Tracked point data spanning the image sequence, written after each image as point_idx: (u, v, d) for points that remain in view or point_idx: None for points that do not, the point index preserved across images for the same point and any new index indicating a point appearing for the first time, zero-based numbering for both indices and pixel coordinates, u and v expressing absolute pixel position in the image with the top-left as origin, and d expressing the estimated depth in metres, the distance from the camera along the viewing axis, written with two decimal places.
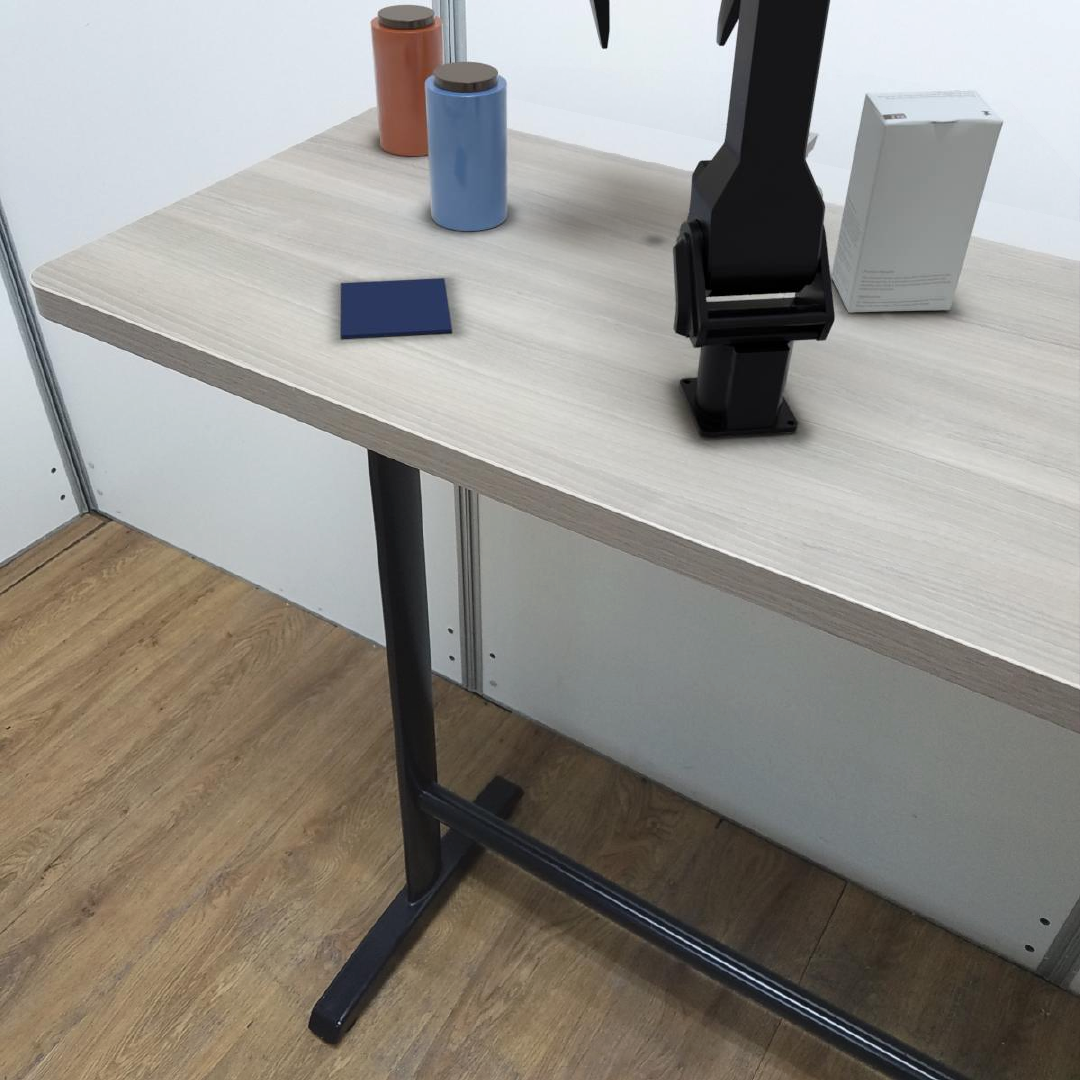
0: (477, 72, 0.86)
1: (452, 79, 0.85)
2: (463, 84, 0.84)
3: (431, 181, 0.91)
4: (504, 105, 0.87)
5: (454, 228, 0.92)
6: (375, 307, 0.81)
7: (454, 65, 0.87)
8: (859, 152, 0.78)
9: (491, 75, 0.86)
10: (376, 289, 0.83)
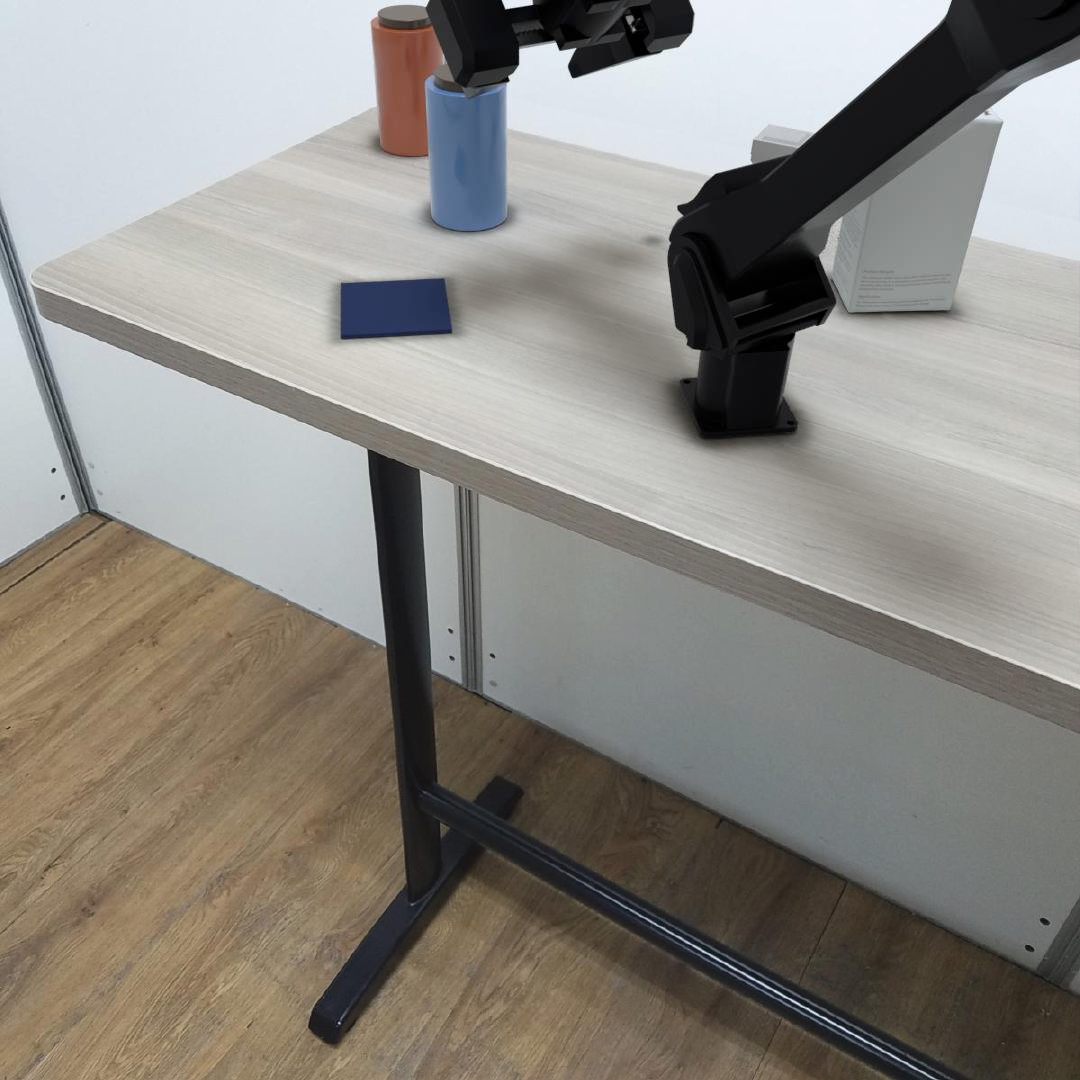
0: None
1: (452, 79, 0.85)
2: None
3: (431, 181, 0.91)
4: (504, 105, 0.87)
5: (454, 228, 0.92)
6: (375, 307, 0.81)
7: None
8: None
9: None
10: (376, 289, 0.83)
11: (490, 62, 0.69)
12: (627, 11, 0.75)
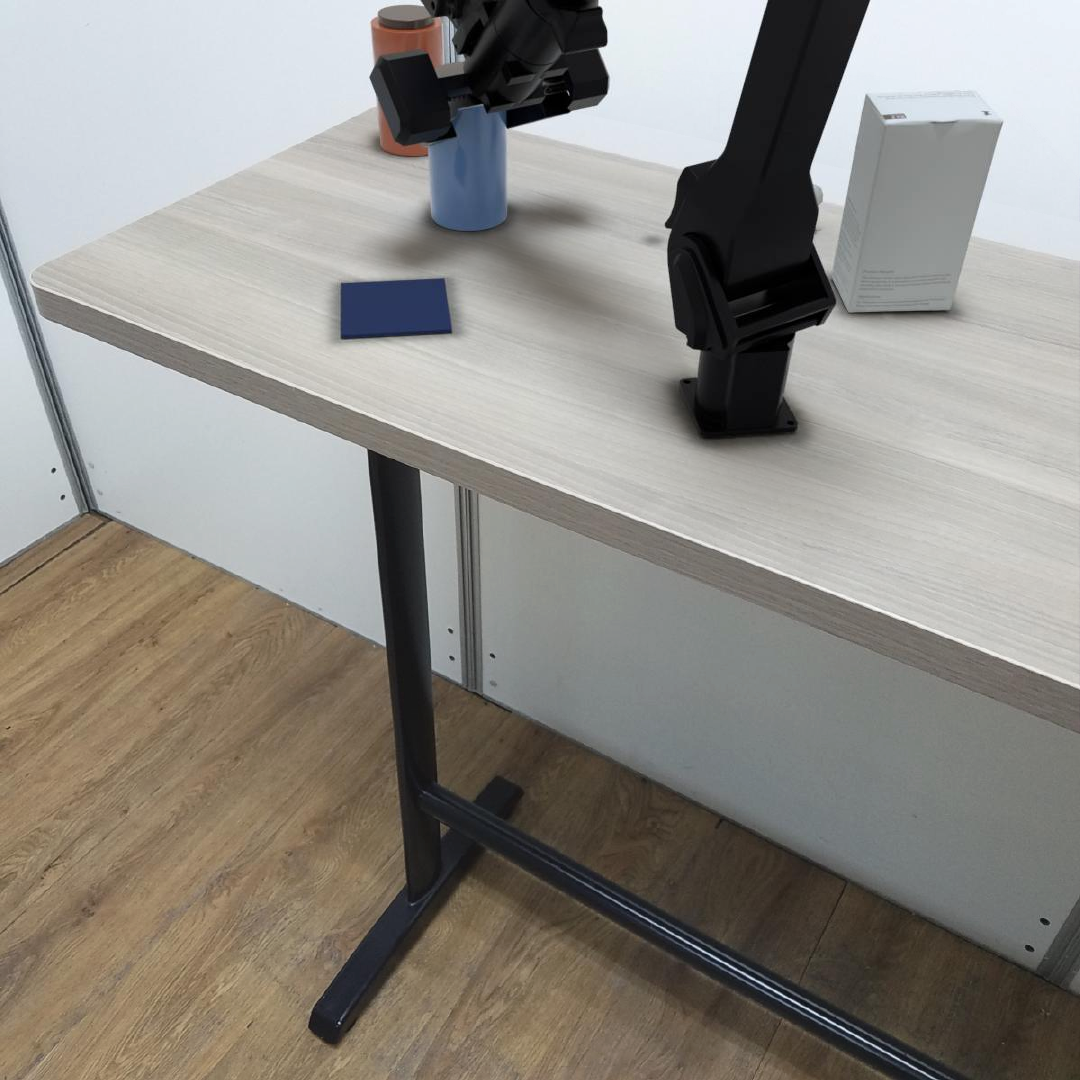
0: None
1: None
2: None
3: (431, 181, 0.91)
4: None
5: (454, 228, 0.92)
6: (375, 307, 0.81)
7: (454, 65, 0.87)
8: (859, 152, 0.78)
9: None
10: (376, 289, 0.83)
11: (424, 125, 0.79)
12: None
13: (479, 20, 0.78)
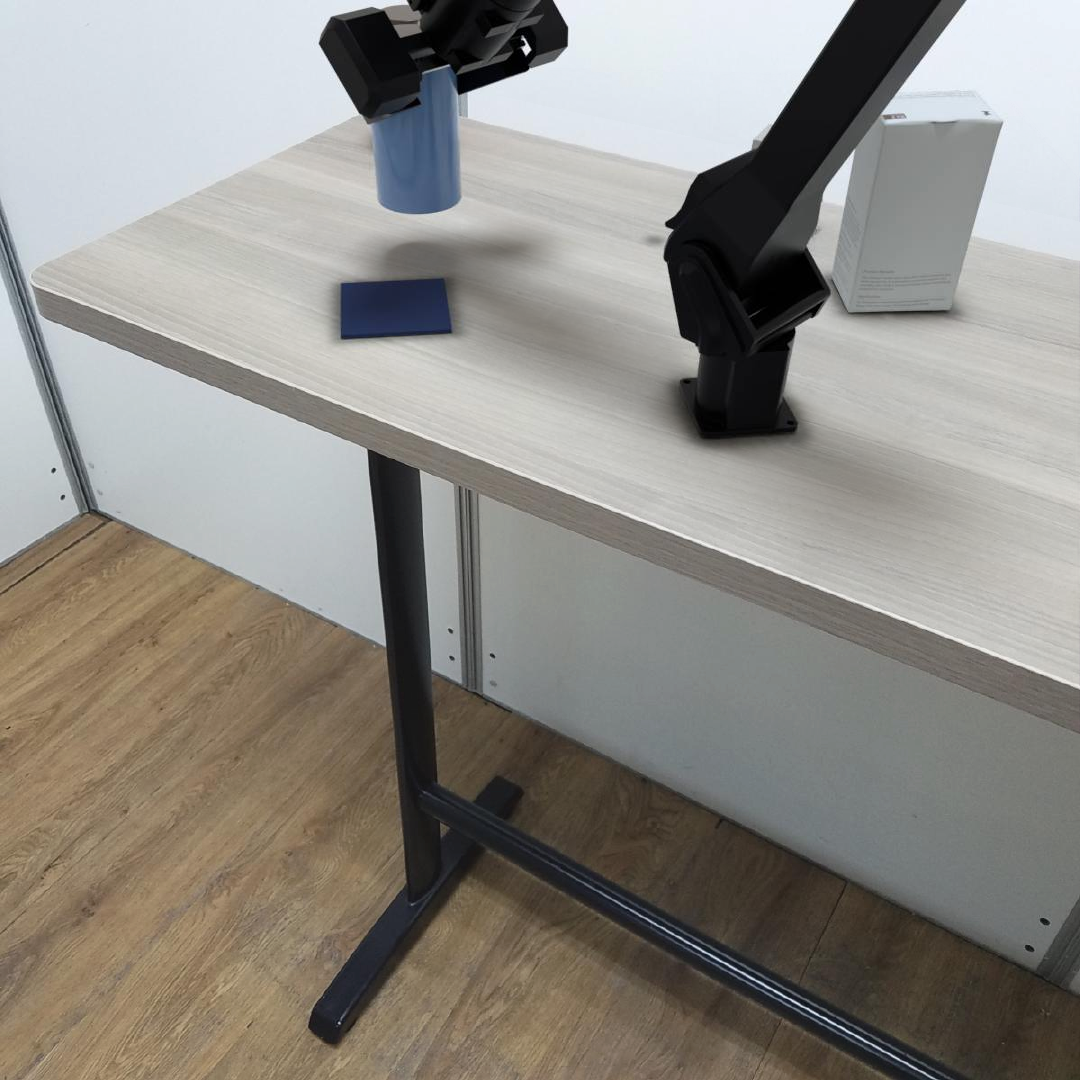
0: None
1: None
2: None
3: (379, 162, 0.81)
4: None
5: (411, 212, 0.82)
6: (375, 307, 0.81)
7: None
8: (859, 152, 0.78)
9: None
10: (376, 289, 0.83)
11: (394, 92, 0.69)
12: None
13: None
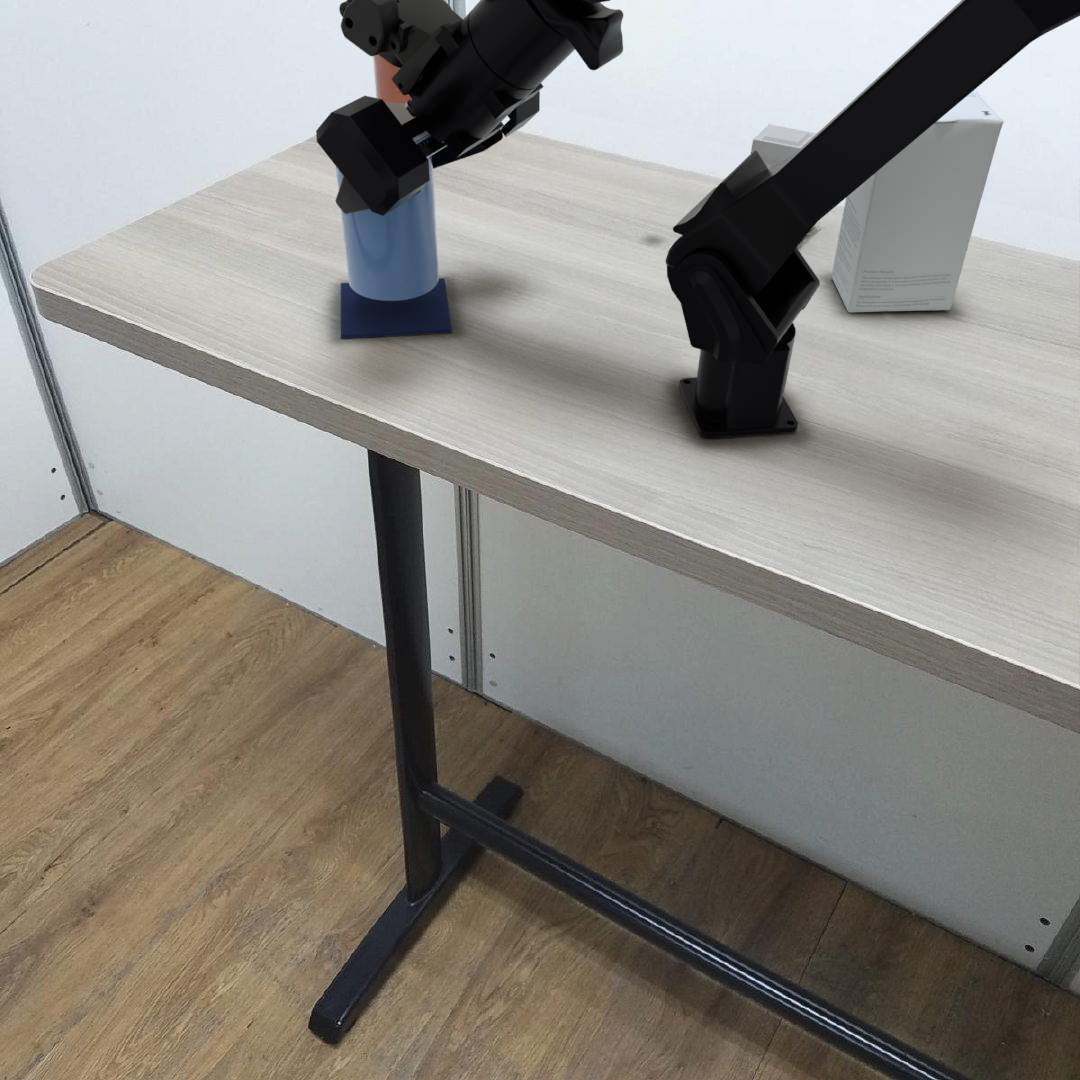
0: (393, 112, 0.72)
1: None
2: None
3: (357, 251, 0.75)
4: None
5: (396, 299, 0.77)
6: (375, 307, 0.81)
7: None
8: None
9: None
10: None
11: (409, 185, 0.65)
12: None
13: (438, 49, 0.65)
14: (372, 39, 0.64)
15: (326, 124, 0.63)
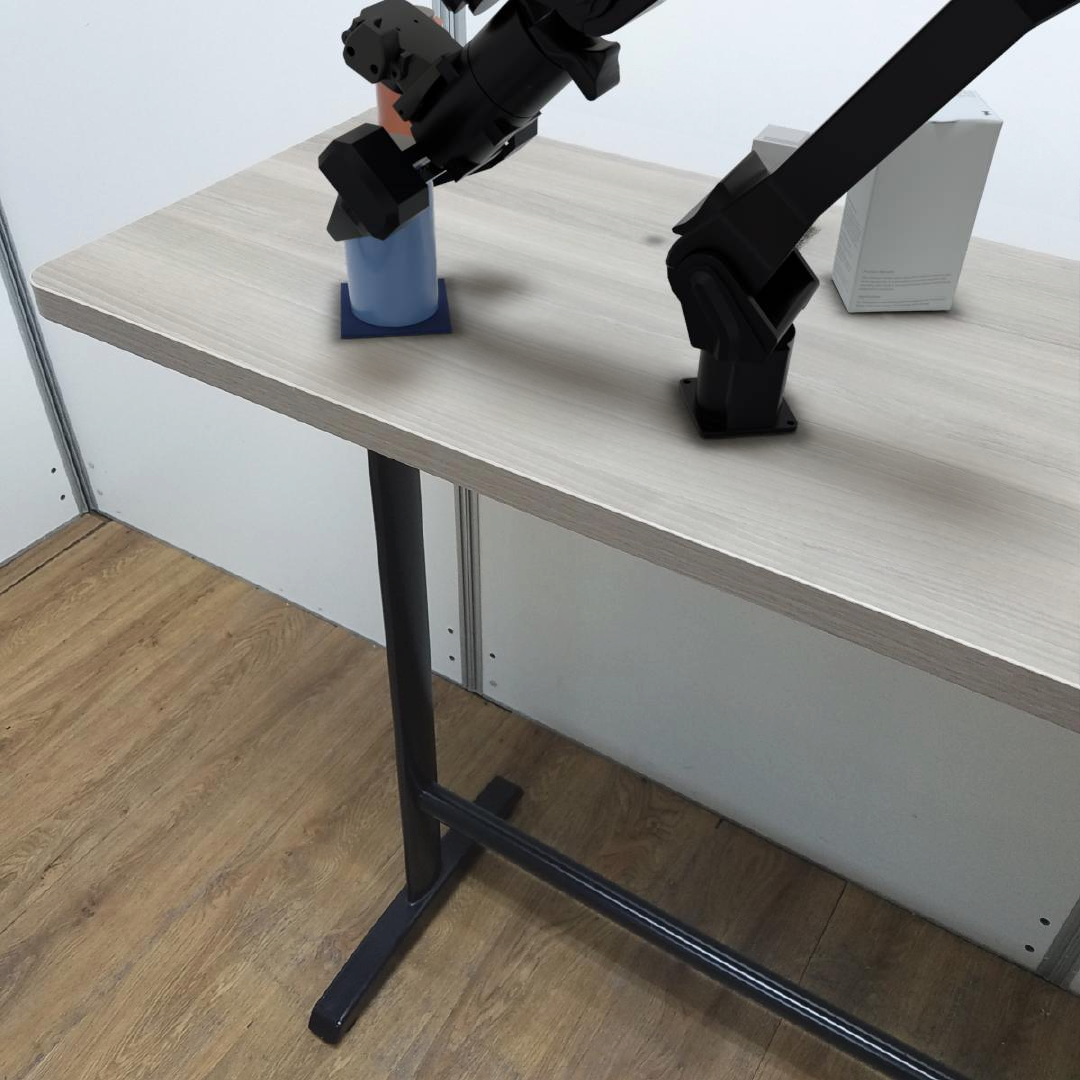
0: None
1: None
2: None
3: (359, 278, 0.77)
4: None
5: (397, 325, 0.79)
6: None
7: None
8: None
9: None
10: None
11: (409, 211, 0.66)
12: None
13: (438, 78, 0.66)
14: (373, 67, 0.65)
15: (328, 151, 0.64)
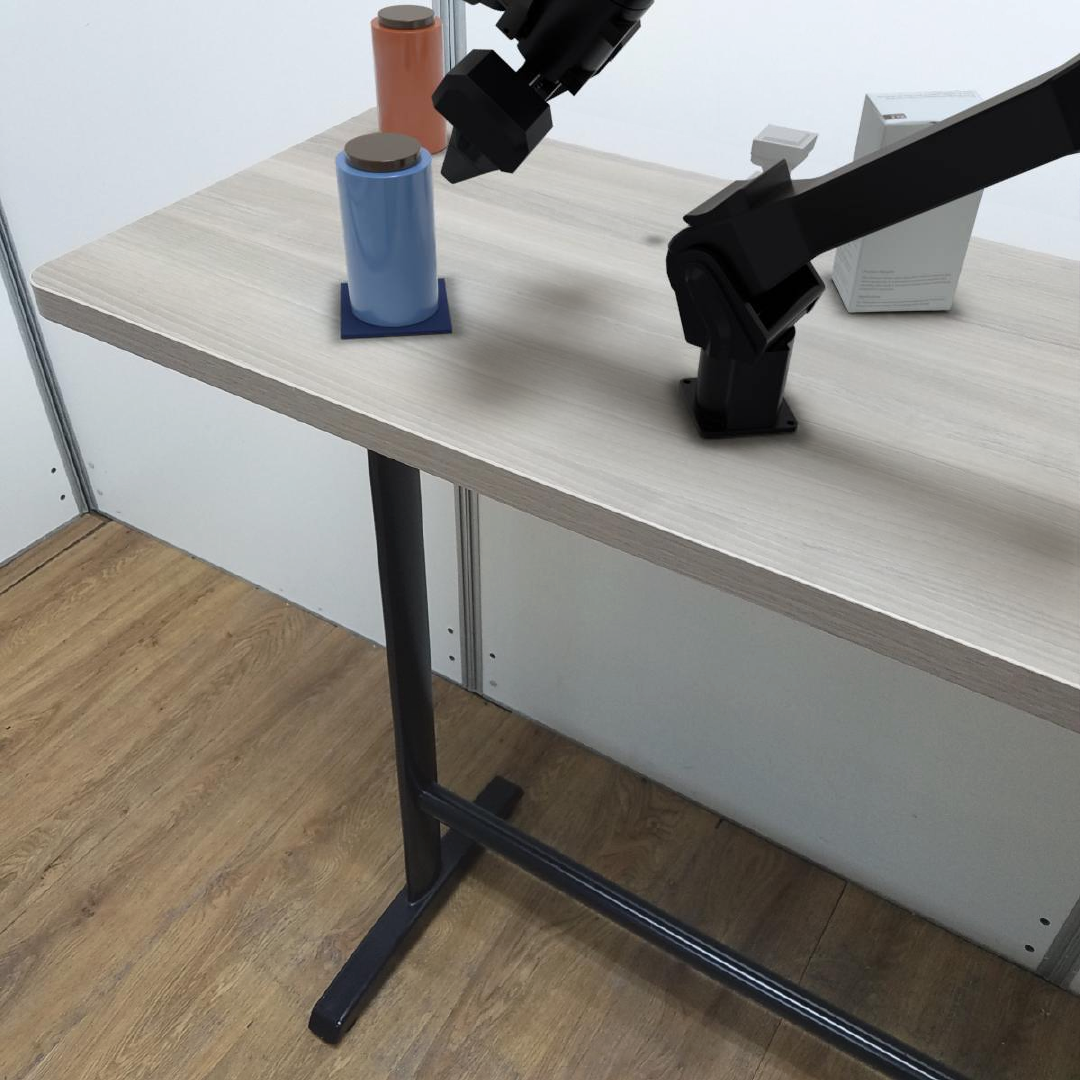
0: (395, 144, 0.74)
1: (382, 159, 0.72)
2: (397, 161, 0.72)
3: (359, 278, 0.77)
4: None
5: (397, 325, 0.79)
6: None
7: (360, 141, 0.74)
8: (859, 152, 0.78)
9: (416, 145, 0.74)
10: None
11: (536, 136, 0.61)
12: None
13: None
14: None
15: (442, 88, 0.60)
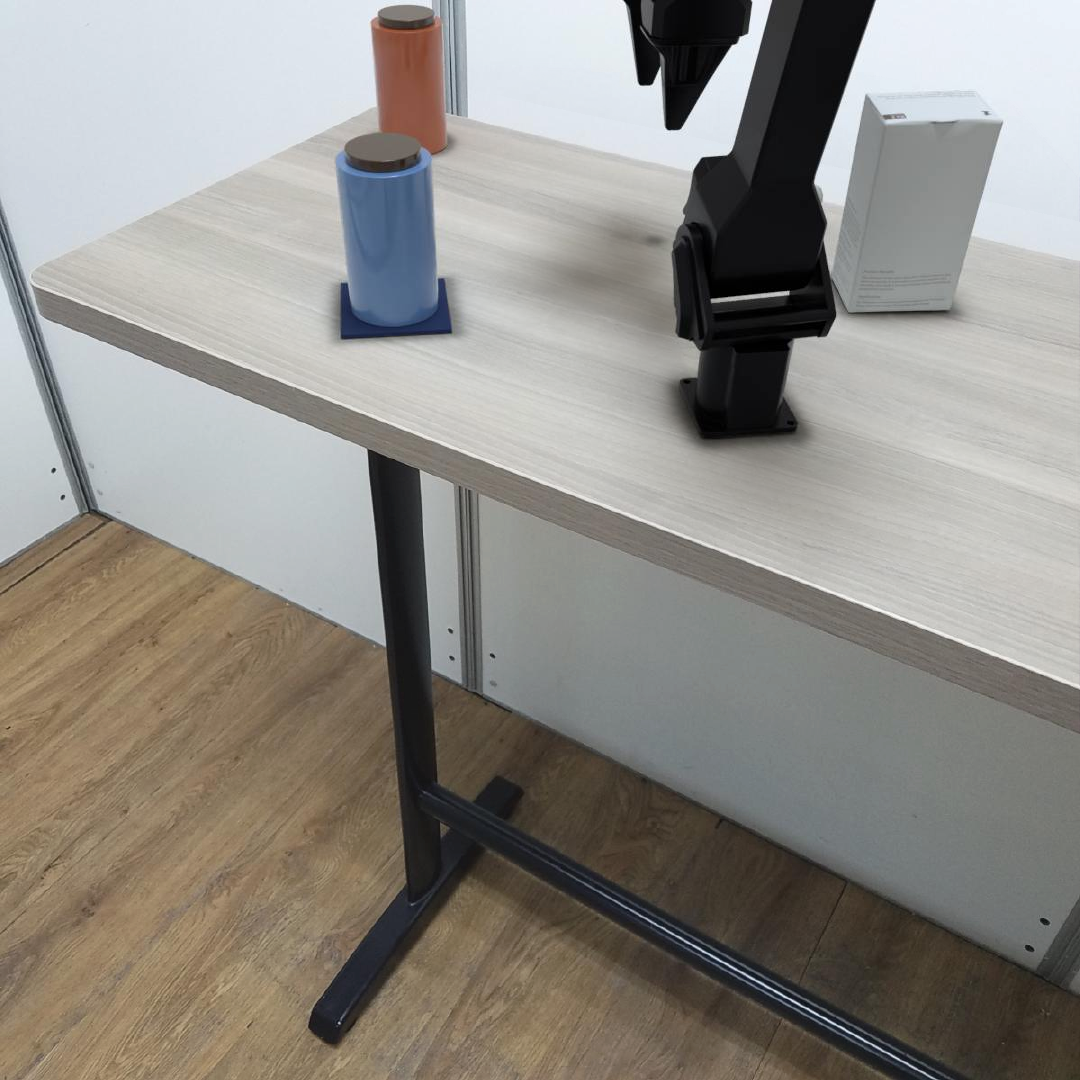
0: (395, 144, 0.74)
1: (382, 159, 0.72)
2: (397, 161, 0.72)
3: (359, 278, 0.77)
4: None
5: (397, 325, 0.79)
6: None
7: (360, 141, 0.74)
8: (859, 152, 0.78)
9: (416, 145, 0.74)
10: None
11: None
12: None
13: None
14: None
15: (658, 15, 0.65)
